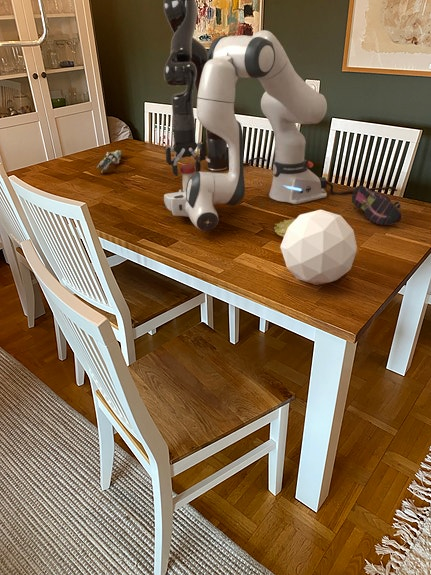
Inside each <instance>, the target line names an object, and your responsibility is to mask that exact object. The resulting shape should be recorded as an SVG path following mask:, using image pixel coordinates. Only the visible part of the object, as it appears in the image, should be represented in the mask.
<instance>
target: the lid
mask: <svg viewBox="0 0 431 575" xmlns="http://www.w3.org/2000/svg"><path fill="white" fill-rule="evenodd" d="M195 172H196V168H195V165H193V164H183V165H180V174H182V173H183V174H191V173H195Z"/></svg>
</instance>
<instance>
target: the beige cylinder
mask: <svg viewBox="0 0 431 575" xmlns="http://www.w3.org/2000/svg"><path fill="white" fill-rule="evenodd" d="M194 173H195V172H194ZM194 173H191V174H183V173H181V181H182V190H183V191H184V192H185V191H186V187H187V183H188V180H189V179H190V177H191V176H192V175H193V174H194Z"/></svg>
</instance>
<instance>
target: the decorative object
mask: <svg viewBox="0 0 431 575" xmlns="http://www.w3.org/2000/svg"><path fill="white" fill-rule="evenodd" d="M295 219H296V218H292V219H283V221H279V223H274V227H273V229H274V233H276V234H277V236H279V237H282V238H284V236H285V233H286V231H287V228H288V227H289V226H290V225H291V224H292V223H293V222H294V220H295Z"/></svg>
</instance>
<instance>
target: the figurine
mask: <svg viewBox="0 0 431 575" xmlns="http://www.w3.org/2000/svg"><path fill="white" fill-rule="evenodd" d="M122 153H123V152H122V150H115V151H111V152H110V151H107V152H106V153H105V155H106V156H104V157H103V158H102V159H101V161H100V162H99V163H98V165H97V167H96V169H97V170H100V173H101V174H104V173H105V172H106V171H107V170H108V169H109V168H110V167H111V166H112V165H119V164H120V160H121V158H122V157H123V154H122Z"/></svg>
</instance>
